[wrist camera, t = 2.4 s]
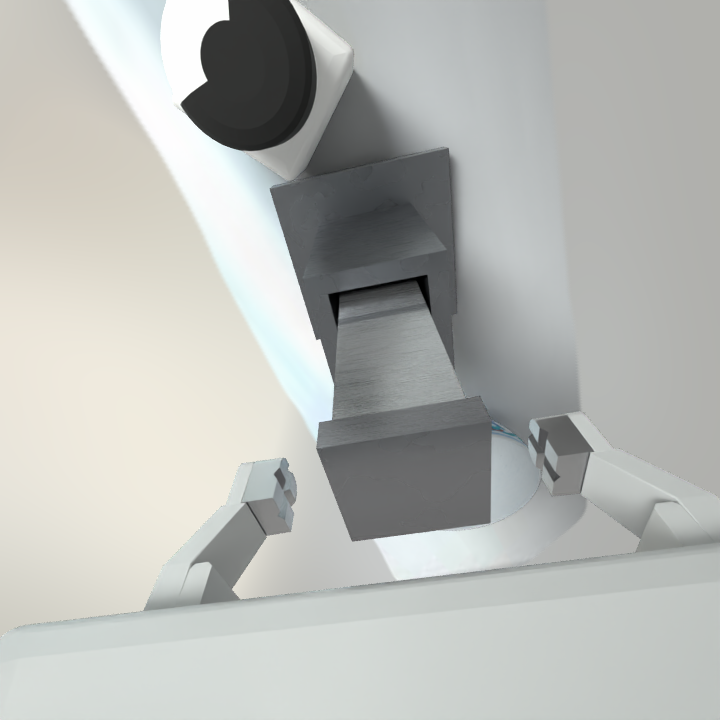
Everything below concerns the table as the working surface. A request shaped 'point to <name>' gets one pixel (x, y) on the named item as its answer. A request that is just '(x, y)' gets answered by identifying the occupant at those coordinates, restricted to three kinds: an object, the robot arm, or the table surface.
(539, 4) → the table surface
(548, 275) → the table surface
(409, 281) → the column
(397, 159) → the stand base
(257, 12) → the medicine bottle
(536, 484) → the chinaware
